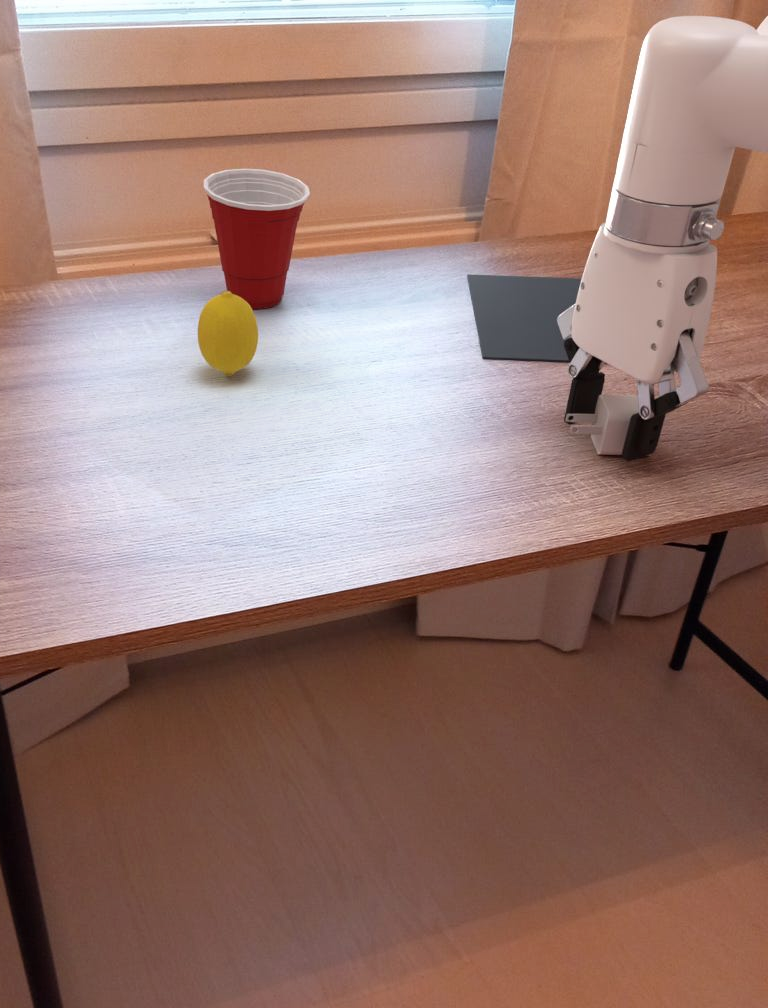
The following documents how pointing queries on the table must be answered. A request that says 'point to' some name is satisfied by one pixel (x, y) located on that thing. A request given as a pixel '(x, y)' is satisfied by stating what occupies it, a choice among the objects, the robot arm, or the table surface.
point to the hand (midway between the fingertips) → (608, 435)
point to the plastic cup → (255, 230)
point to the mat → (521, 315)
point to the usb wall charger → (608, 422)
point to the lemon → (227, 333)
